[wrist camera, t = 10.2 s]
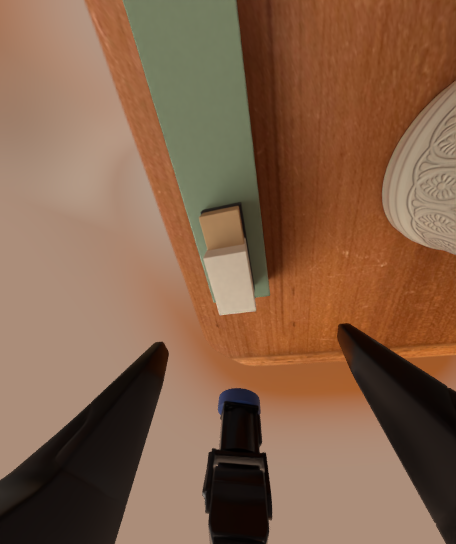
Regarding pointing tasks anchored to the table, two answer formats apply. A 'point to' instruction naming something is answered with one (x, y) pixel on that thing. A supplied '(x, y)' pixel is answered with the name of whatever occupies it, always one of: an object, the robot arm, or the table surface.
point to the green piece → (203, 110)
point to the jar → (425, 176)
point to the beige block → (228, 258)
